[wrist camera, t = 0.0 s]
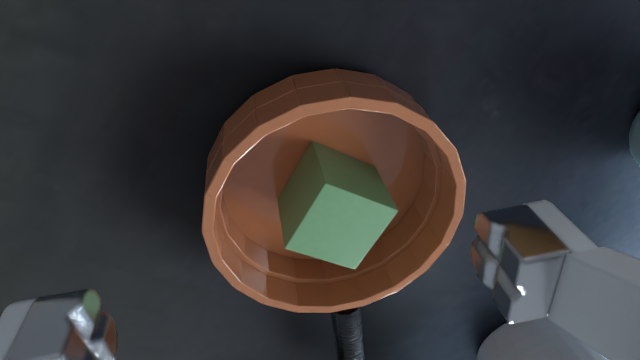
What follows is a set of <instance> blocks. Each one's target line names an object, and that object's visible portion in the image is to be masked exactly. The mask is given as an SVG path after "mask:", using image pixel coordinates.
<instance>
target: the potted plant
mask: <svg viewBox="0 0 640 360" xmlns="http://www.w3.org/2000/svg"><path fill="white" fill-rule="evenodd" d="M477 360H606V359H605V358H604V357H603V356H602V355H601V354H600V353H598V352H597V351H595V350H594V349H592V348H591V347H589V346H587V345H586V344H584V343H583V342H581V341H580V340H578V339H577V338H575V337H574V336H572V335H571V334H569V333H568V332H566V331H565V330H563V329H562V328H560V327H559V326H557V325H556V324H554V323H553V322H551V321H549V320H548V317H546V318H541V319H535V320H530V321H525V322H519V323H514V324H508V323H505V324H503V325H502V326H500V327H499V328H497V329H496V330H495V331H493V332H492V333H491V334H490V335H489V336H488V337H487V338H486V339H485V340H484V341H483V343H482V345H481V346H480V348H479V351H478V355H477Z"/></svg>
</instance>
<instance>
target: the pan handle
mask: <svg viewBox="0 0 640 360" xmlns="http://www.w3.org/2000/svg"><path fill="white" fill-rule="evenodd" d="M331 316H332V323H333V330H334V338H335V345H336V353H337V360H365V355H364V341H363V328H362V315H361V307H356V308H352V309H347V310H342V311H337V312H332V313H331Z"/></svg>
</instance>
